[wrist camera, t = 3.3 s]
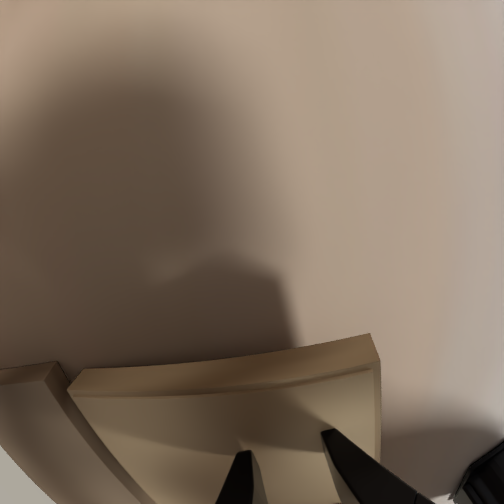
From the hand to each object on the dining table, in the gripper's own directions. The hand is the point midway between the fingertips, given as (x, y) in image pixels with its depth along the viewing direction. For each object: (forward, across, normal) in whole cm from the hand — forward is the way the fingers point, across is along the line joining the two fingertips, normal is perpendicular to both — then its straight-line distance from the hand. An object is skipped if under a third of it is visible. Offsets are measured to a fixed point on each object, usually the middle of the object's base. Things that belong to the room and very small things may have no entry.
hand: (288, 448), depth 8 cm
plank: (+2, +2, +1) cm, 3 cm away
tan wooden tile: (+3, +10, +6) cm, 12 cm away
